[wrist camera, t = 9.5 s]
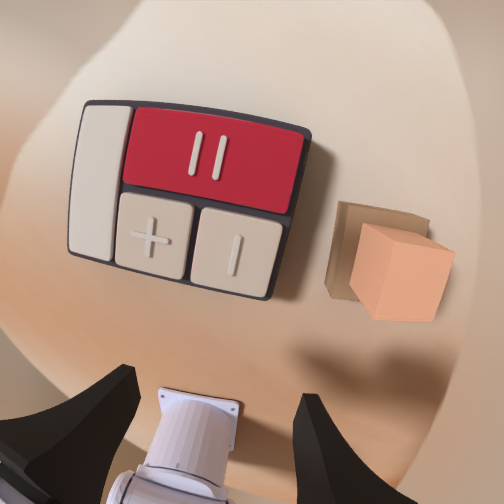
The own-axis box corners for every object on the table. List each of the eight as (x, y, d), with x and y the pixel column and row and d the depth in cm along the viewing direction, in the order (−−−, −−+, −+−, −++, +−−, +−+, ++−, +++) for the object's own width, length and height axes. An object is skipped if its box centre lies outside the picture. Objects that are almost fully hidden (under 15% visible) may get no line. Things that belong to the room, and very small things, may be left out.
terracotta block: (400, 289, 17) (432, 321, 12) (349, 284, 17) (372, 319, 12) (416, 232, 16) (455, 252, 11) (362, 222, 16) (394, 241, 11)
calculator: (271, 308, 17) (60, 257, 16) (267, 281, 21) (90, 241, 20) (317, 127, 14) (78, 97, 13) (303, 136, 18) (108, 107, 17)
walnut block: (393, 287, 20) (408, 303, 17) (323, 280, 20) (331, 298, 17) (409, 213, 18) (429, 220, 15) (336, 200, 18) (348, 205, 15)
